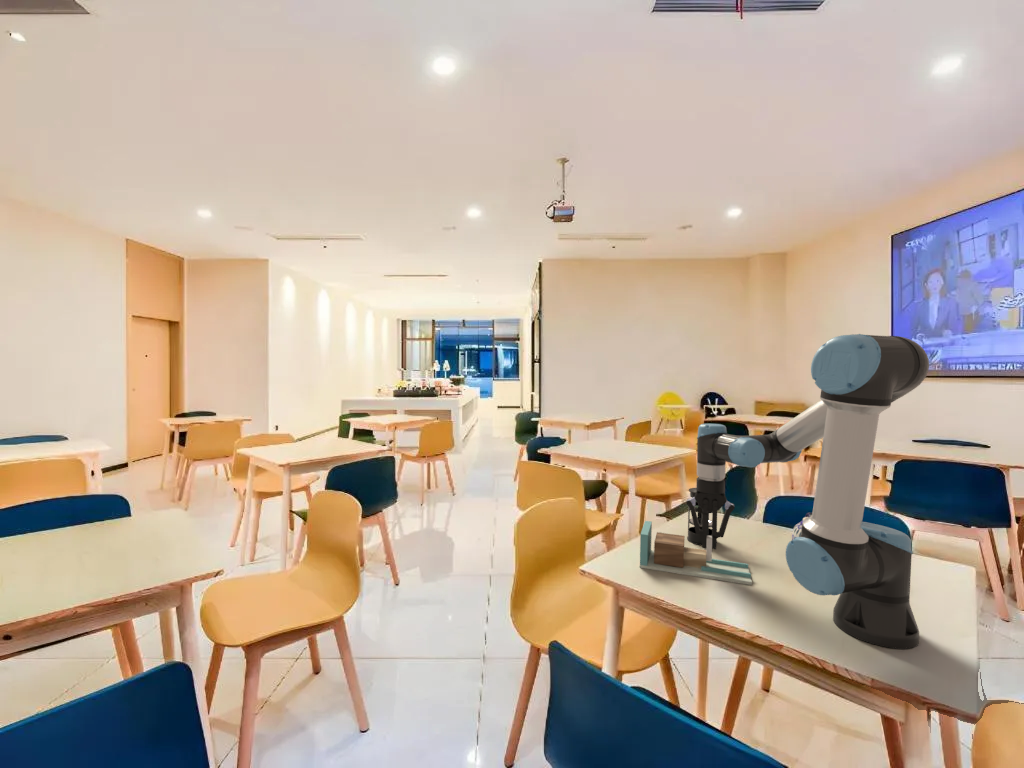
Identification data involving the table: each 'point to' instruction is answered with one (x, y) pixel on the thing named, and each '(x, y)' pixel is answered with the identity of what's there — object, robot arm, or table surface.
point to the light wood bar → (694, 557)
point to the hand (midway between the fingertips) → (708, 559)
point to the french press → (691, 531)
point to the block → (669, 549)
